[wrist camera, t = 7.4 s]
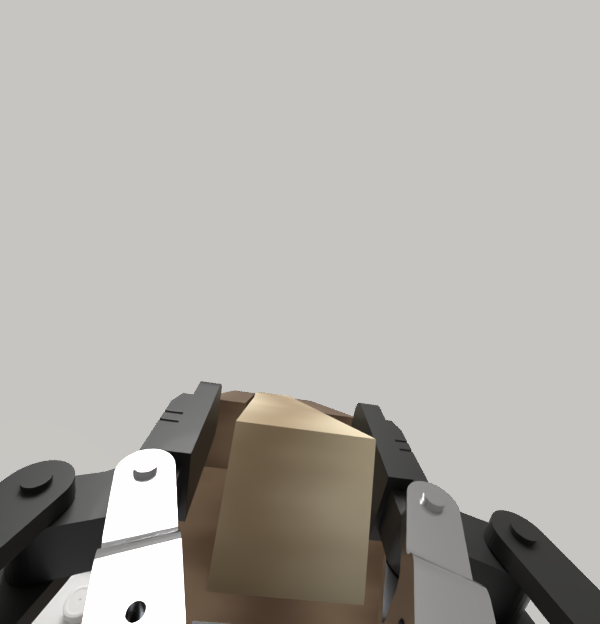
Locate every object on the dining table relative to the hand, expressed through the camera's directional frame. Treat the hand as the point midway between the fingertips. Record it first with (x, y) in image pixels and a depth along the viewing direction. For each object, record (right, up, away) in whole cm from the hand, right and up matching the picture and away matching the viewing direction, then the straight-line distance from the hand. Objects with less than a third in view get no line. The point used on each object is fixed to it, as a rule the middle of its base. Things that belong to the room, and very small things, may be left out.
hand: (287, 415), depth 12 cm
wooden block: (-1, -4, +6) cm, 7 cm away
